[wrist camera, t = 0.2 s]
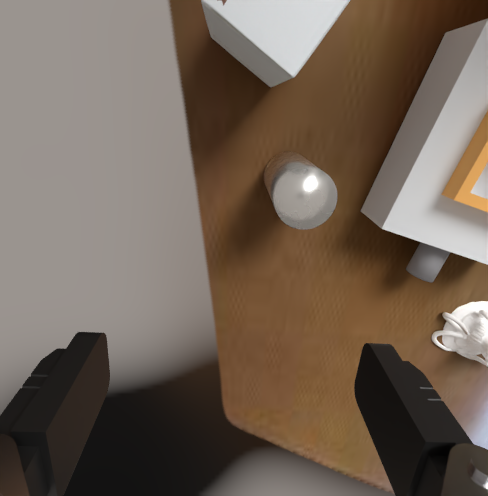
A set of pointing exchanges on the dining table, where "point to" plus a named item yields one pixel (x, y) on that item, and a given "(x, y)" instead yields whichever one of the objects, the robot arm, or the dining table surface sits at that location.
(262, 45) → the supplement box
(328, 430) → the dining table surface
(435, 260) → the white square box
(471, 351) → the tentacle sculpture
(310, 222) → the shiny metal cylinder
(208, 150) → the dining table surface
